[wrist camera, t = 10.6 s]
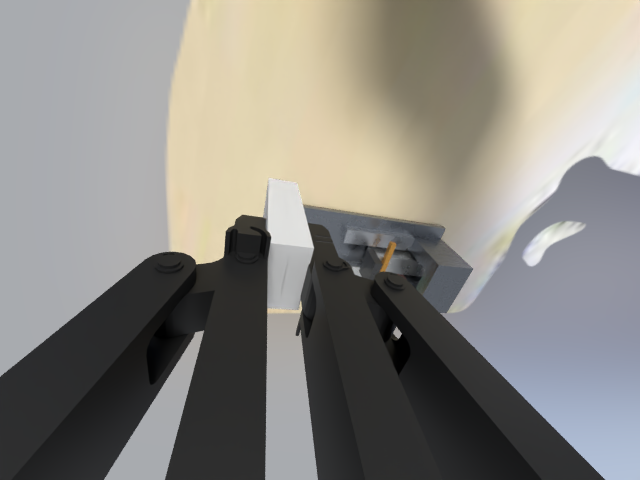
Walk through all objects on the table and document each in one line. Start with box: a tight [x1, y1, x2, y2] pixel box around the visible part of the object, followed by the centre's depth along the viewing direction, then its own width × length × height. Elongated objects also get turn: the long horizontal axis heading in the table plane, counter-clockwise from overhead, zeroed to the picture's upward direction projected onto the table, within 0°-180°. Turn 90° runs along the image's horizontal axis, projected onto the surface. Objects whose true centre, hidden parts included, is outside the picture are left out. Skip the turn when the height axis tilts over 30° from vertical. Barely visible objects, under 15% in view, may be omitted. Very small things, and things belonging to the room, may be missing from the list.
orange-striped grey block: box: [359, 242, 425, 280], centre depth 45 cm, size 9×13×6 cm
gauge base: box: [303, 205, 473, 313], centre depth 43 cm, size 13×26×10 cm, turn 77°
